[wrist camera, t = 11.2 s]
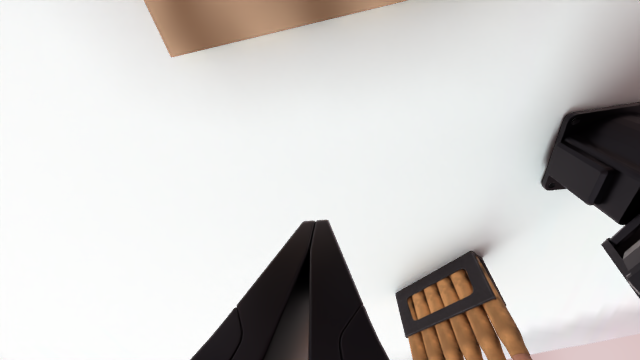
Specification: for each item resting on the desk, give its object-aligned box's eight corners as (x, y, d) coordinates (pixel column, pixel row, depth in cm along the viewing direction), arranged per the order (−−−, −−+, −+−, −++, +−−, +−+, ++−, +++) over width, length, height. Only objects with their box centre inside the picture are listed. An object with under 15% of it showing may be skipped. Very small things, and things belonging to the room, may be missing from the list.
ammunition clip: (405, 299, 31) (435, 432, 21) (394, 293, 31) (420, 426, 21) (482, 258, 26) (569, 406, 16) (471, 250, 26) (554, 398, 16)
